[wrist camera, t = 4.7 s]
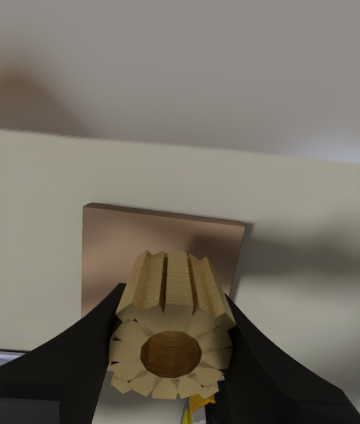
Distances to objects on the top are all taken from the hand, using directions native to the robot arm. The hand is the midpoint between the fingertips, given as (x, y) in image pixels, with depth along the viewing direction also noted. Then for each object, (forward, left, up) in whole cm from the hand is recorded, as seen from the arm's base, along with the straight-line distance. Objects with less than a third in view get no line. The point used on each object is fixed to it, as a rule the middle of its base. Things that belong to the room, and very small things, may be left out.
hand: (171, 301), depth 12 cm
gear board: (-5, +1, -7) cm, 8 cm away
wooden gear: (0, 0, -1) cm, 1 cm away
